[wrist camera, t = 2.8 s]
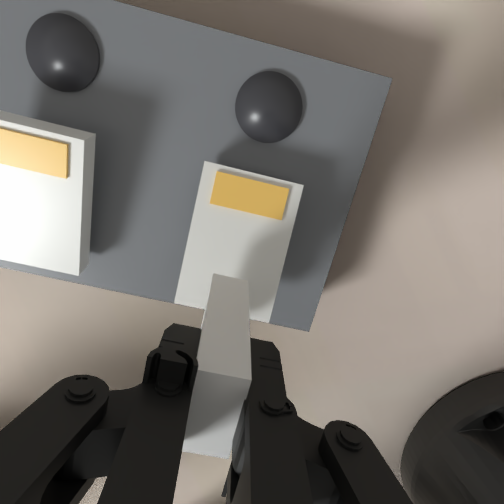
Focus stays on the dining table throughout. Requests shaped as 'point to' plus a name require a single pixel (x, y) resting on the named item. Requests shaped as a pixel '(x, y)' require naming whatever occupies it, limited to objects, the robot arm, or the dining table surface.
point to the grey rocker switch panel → (188, 134)
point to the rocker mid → (45, 193)
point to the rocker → (238, 236)
